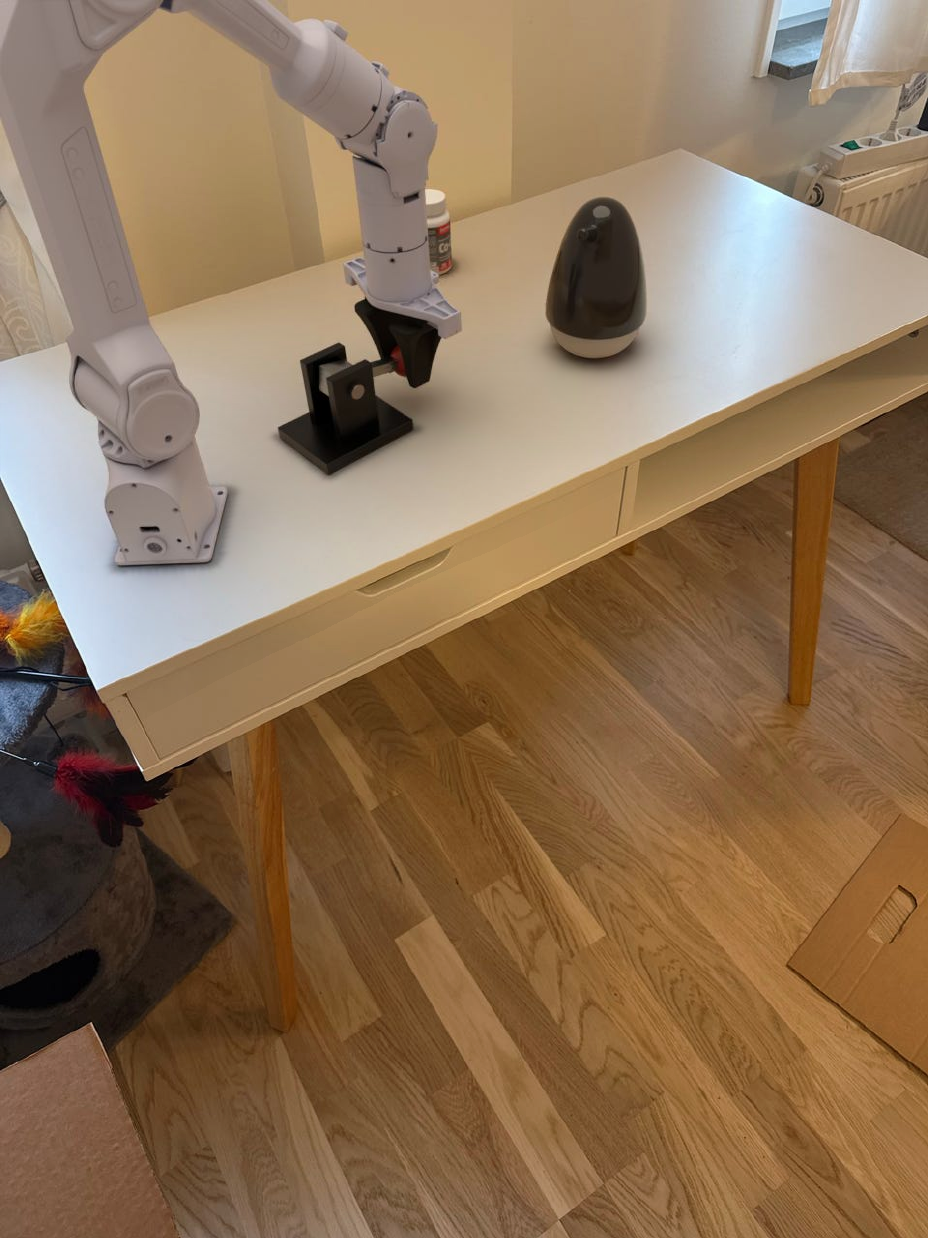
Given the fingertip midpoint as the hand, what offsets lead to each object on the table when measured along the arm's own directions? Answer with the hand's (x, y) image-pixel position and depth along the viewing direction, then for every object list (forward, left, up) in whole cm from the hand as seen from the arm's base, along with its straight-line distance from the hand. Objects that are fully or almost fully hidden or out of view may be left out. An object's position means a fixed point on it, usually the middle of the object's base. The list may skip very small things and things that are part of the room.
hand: (407, 375), depth 90 cm
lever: (-3, +3, +1) cm, 4 cm away
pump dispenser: (+9, -19, -3) cm, 21 cm away
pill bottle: (+28, -2, -3) cm, 28 cm away
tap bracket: (-5, +6, -3) cm, 8 cm away
